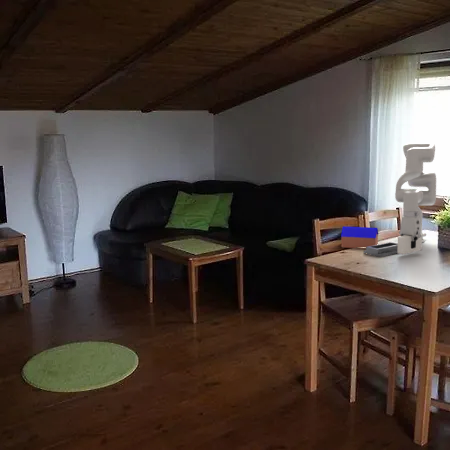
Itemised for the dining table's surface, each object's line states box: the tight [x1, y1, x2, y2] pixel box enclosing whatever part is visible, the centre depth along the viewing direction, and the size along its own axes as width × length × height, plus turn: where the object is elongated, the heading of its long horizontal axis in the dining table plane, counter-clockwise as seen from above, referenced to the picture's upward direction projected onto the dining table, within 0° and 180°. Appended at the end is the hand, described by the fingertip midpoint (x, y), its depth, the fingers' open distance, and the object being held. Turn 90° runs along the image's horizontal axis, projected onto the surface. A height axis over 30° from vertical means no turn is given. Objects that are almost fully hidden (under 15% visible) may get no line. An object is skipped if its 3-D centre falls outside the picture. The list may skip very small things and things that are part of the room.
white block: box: [397, 234, 423, 255], centre depth 296 cm, size 15×4×9 cm, turn 124°
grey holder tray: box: [363, 241, 398, 258], centre depth 304 cm, size 20×12×4 cm, turn 124°
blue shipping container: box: [340, 225, 379, 249], centre depth 322 cm, size 12×20×12 cm, turn 67°
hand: (409, 247), depth 296 cm, fingers closed on white block, 4 cm apart
